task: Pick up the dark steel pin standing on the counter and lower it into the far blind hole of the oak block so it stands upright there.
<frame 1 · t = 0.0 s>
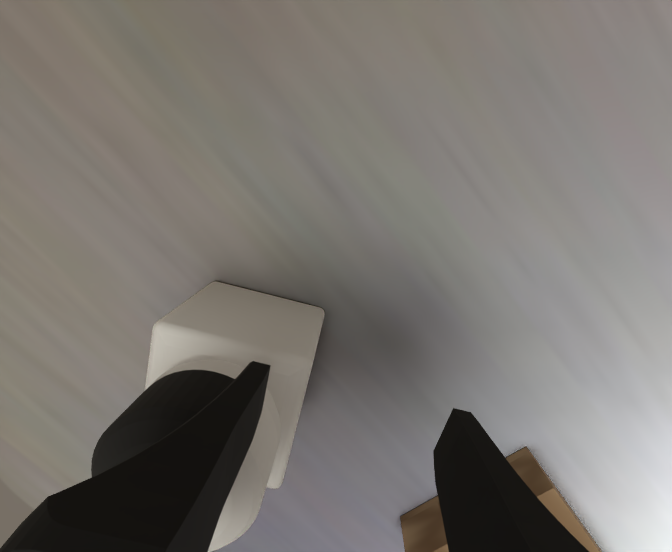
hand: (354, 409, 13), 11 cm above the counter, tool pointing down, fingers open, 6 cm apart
medicine bottle: (259, 343, 24), on the counter, touching gripper
hole block: (514, 550, 27), on the counter
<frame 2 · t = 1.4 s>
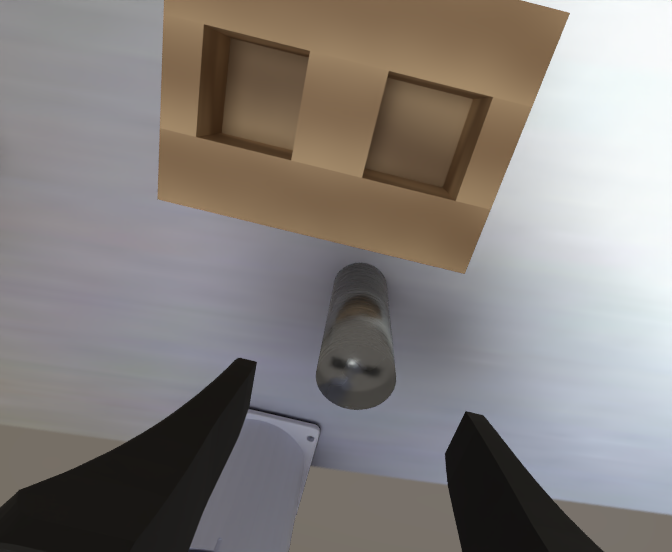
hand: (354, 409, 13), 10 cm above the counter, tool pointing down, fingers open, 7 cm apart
steel pin: (360, 287, 22), on the counter
hole block: (343, 116, 18), on the counter
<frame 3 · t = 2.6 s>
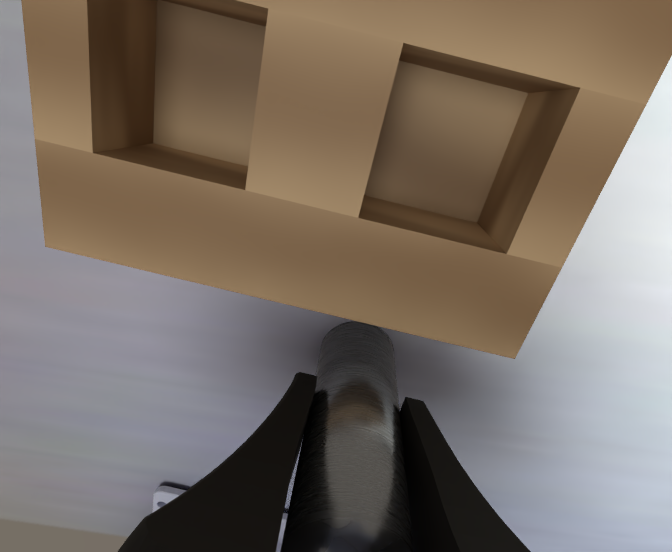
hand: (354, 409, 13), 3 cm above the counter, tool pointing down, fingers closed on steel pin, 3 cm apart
steel pin: (357, 353, 16), on the counter, touching gripper
hole block: (330, 119, 12), on the counter
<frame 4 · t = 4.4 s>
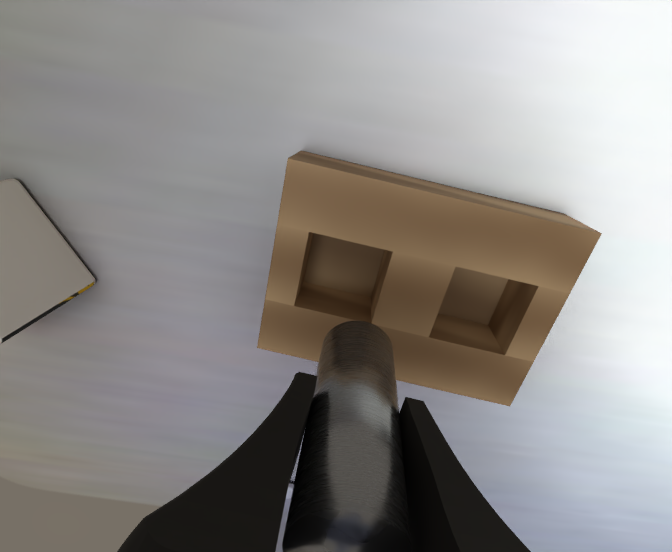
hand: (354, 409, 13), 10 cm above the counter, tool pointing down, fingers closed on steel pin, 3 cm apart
steel pin: (357, 351, 16), point 7 cm above the counter, touching gripper
medicine bottle: (22, 253, 24), on the counter
hole block: (405, 269, 22), on the counter
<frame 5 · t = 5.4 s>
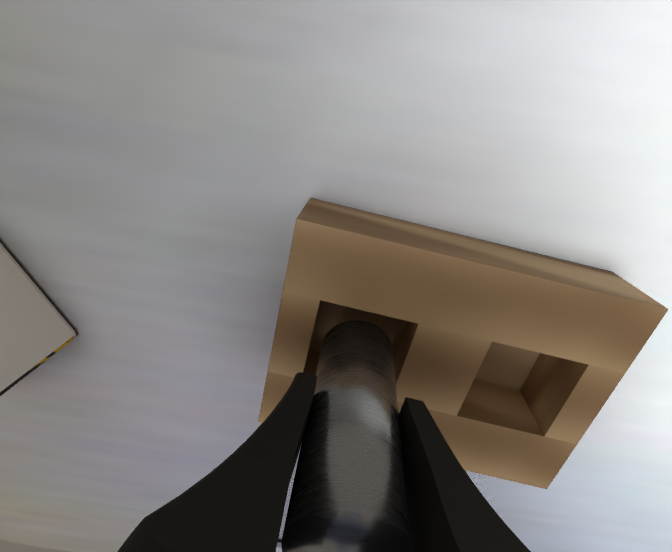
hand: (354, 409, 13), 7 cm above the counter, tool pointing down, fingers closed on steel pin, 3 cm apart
steel pin: (356, 350, 16), point 3 cm above the counter, touching gripper
hole block: (427, 328, 19), on the counter
when the fingers open (5 cm above the counter, at t = 6.2 s): steel pin stays where it is, resting on hole block.
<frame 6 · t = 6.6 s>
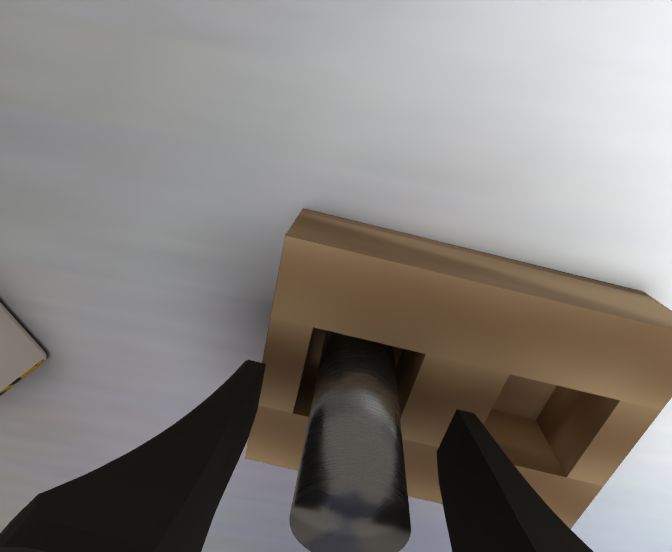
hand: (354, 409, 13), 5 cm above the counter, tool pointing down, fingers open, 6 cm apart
steel pin: (358, 342, 17), point 1 cm above the counter, touching hole block
hole block: (433, 351, 17), on the counter
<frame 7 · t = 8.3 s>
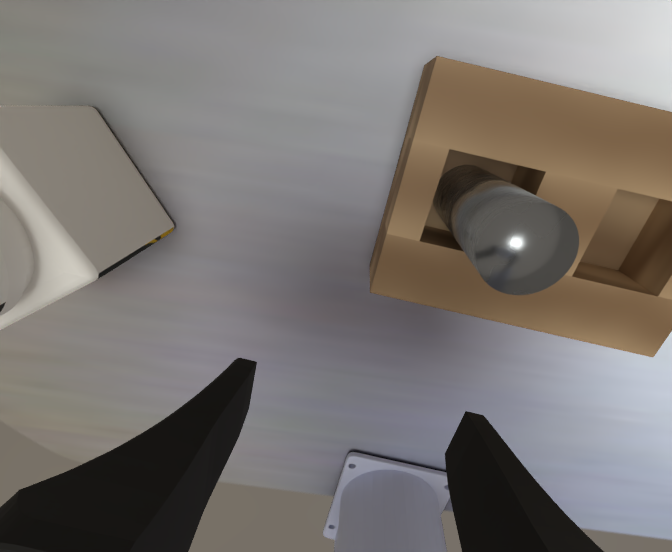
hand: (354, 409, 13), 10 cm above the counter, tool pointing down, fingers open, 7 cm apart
steel pin: (463, 195, 19), point 1 cm above the counter, touching hole block
medicine bottle: (93, 197, 21), on the counter
hole block: (528, 207, 19), on the counter
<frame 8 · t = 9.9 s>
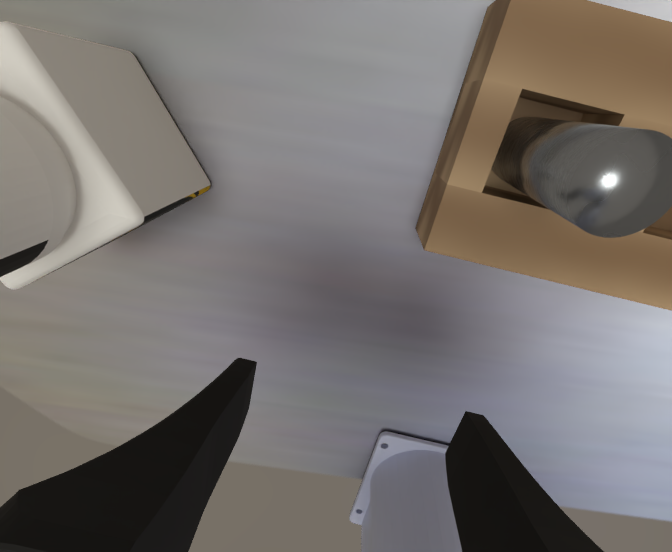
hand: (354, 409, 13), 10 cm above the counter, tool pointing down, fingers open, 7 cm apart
steel pin: (522, 151, 18), point 1 cm above the counter, touching hole block
medicine bottle: (125, 153, 20), on the counter
hole block: (588, 165, 18), on the counter
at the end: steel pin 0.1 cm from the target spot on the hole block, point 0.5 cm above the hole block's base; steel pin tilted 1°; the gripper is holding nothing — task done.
